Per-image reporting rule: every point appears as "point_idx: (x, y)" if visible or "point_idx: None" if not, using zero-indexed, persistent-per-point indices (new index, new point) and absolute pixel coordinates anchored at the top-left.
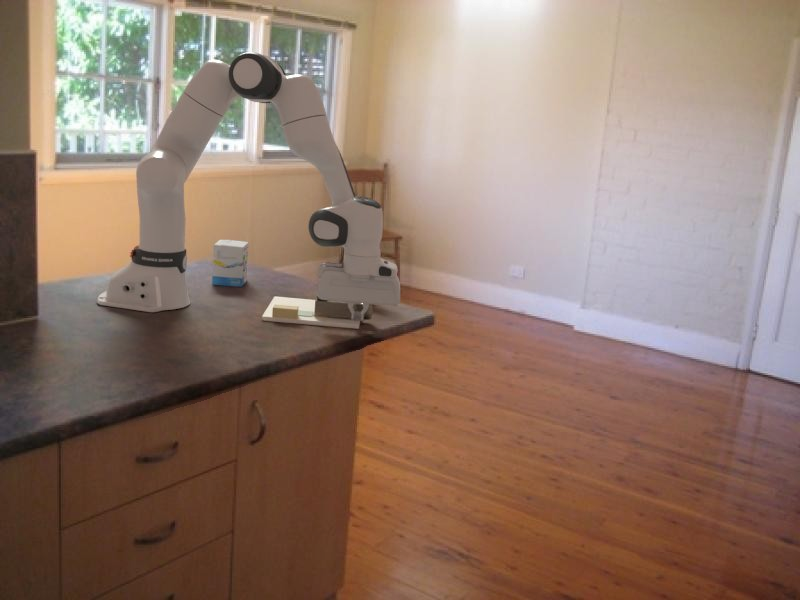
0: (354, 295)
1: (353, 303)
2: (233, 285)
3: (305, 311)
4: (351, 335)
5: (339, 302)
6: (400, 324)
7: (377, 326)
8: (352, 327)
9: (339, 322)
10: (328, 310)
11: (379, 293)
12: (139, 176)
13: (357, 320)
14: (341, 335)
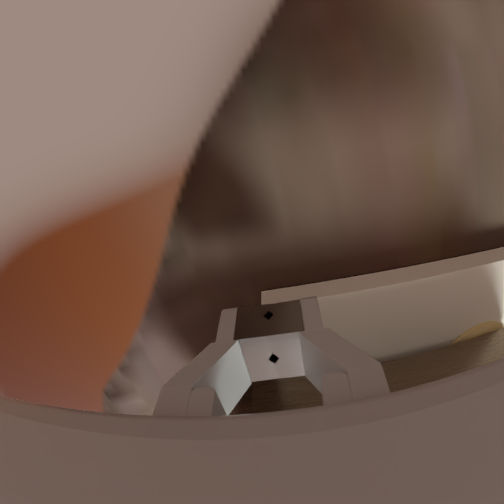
0: (329, 490)
1: (325, 403)
2: None
3: None
4: (269, 130)
5: None
6: (117, 405)
7: (182, 363)
8: (301, 288)
9: (390, 299)
10: (464, 368)
11: (7, 495)
12: None
13: None
14: (336, 99)
